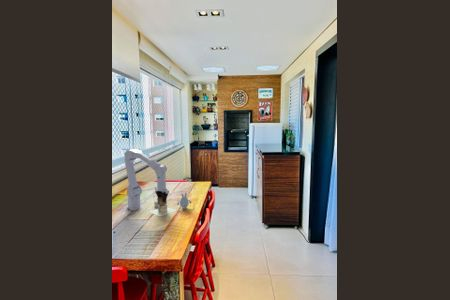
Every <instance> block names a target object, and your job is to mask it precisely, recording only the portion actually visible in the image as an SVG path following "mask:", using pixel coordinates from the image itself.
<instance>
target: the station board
mask: <svg viewBox="0 0 450 300" xmlns="http://www.w3.org/2000/svg"><path fill="white" fill-rule="evenodd" d="M174 212H177V210H176V209H174V208H171V207H168V206H167V211H166V212H163V213H161V212H159V211H158V208H156V209H152V210H150V211H148V213H150V214H153V215H155V216H157V217H163V216H166V215H168V214H169V215H170V214H171V213H174Z"/></svg>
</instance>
